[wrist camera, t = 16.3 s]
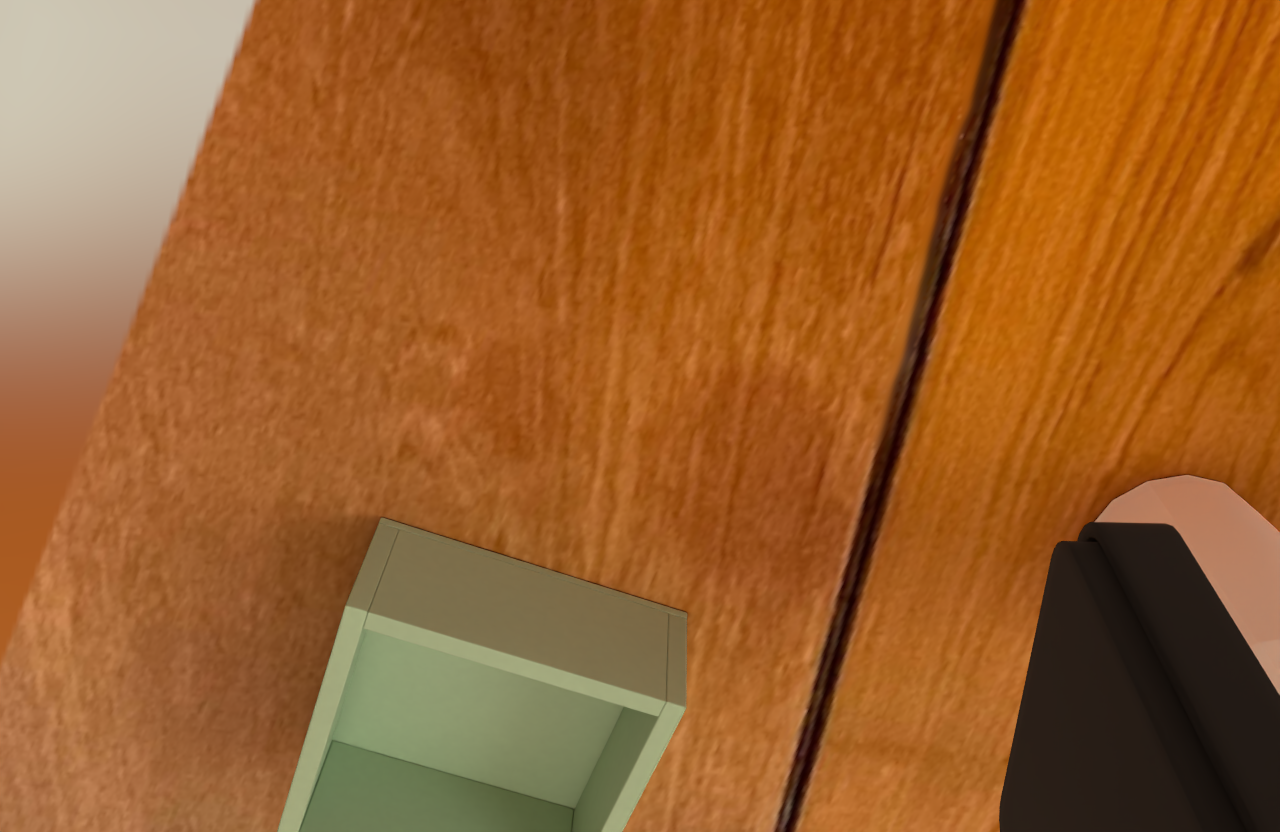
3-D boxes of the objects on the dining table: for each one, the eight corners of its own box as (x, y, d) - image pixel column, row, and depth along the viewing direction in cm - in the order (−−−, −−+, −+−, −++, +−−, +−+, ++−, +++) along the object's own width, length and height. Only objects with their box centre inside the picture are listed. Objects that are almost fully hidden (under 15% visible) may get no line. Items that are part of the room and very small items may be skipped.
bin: (312, 740, 51) (274, 840, 47) (381, 516, 45) (345, 605, 41) (586, 817, 53) (576, 921, 48) (687, 612, 47) (687, 708, 42)
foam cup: (1111, 677, 48) (1240, 964, 37) (994, 527, 45) (1096, 792, 33) (1341, 564, 45) (1560, 840, 33) (1234, 393, 41) (1436, 634, 30)
